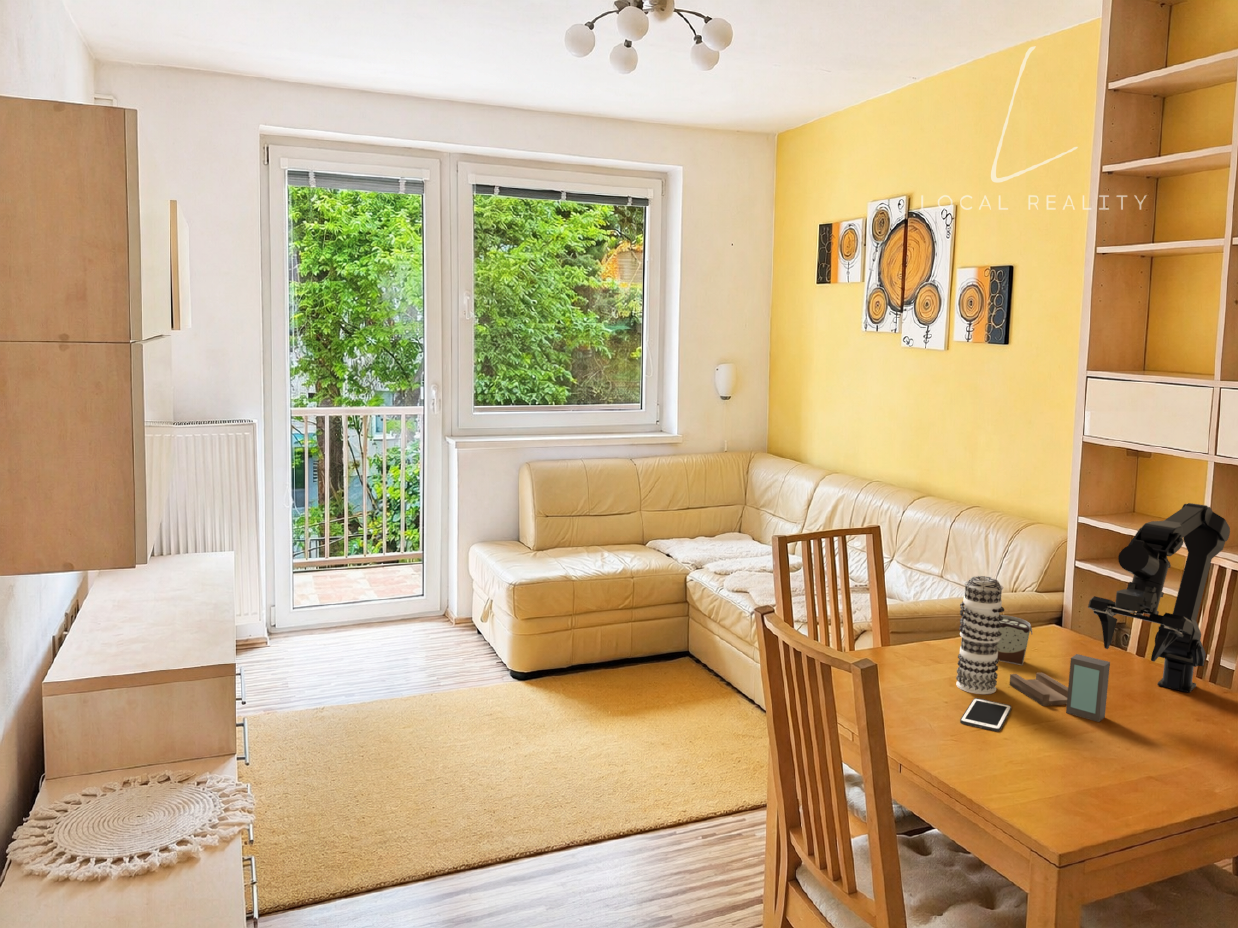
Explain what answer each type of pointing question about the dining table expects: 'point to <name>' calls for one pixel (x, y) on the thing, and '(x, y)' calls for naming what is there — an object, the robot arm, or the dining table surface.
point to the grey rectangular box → (1088, 687)
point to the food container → (1013, 639)
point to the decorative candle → (979, 635)
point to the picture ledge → (1041, 689)
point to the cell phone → (986, 714)
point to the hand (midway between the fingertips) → (1128, 654)
